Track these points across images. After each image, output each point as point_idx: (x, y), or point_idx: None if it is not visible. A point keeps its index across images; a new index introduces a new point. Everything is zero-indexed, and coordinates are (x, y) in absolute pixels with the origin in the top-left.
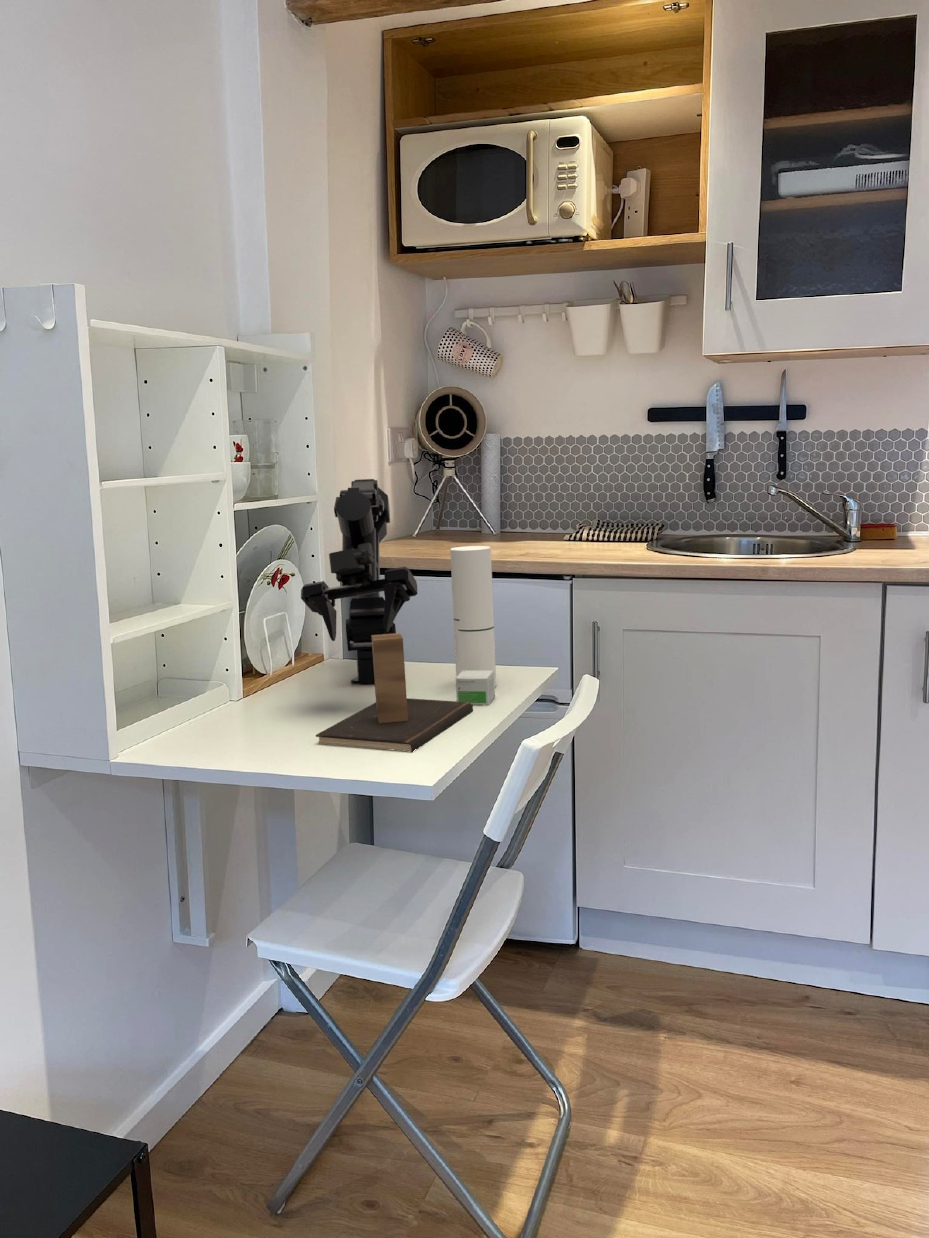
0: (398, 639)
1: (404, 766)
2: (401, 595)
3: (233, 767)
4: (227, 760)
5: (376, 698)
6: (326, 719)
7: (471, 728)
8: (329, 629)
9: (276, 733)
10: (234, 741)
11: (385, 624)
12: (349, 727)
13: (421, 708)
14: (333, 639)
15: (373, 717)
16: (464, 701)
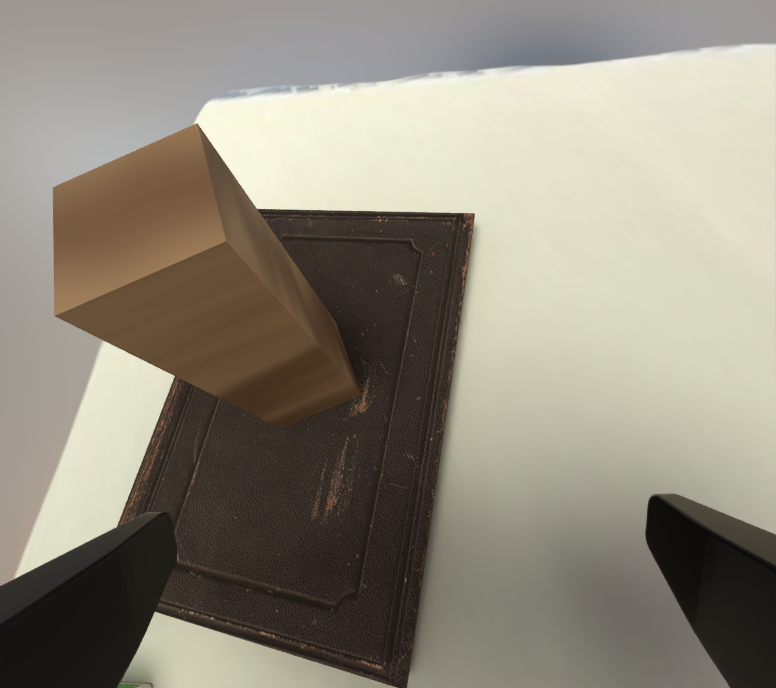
0: (79, 181)
1: (249, 155)
2: None
3: (581, 74)
4: (627, 99)
5: (330, 337)
6: (564, 451)
7: (126, 400)
8: (743, 530)
9: (645, 287)
10: (725, 205)
11: (126, 531)
12: (407, 280)
13: (240, 496)
14: (647, 510)
15: (368, 379)
16: (118, 686)
